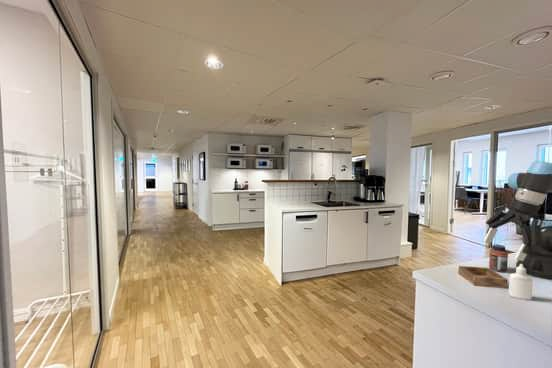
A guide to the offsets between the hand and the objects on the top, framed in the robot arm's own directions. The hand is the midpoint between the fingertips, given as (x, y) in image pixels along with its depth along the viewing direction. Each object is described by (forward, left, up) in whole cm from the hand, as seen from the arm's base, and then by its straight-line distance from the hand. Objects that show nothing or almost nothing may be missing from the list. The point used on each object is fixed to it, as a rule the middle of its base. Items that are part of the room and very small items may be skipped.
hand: (501, 250), depth 94 cm
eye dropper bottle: (+2, +12, -13) cm, 18 cm away
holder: (+7, 0, -13) cm, 15 cm away
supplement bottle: (-7, -13, -13) cm, 20 cm away
